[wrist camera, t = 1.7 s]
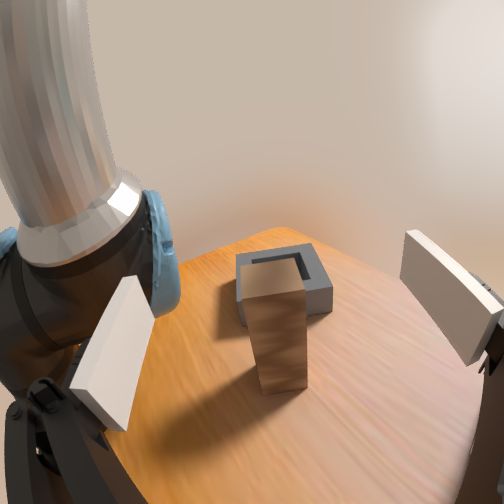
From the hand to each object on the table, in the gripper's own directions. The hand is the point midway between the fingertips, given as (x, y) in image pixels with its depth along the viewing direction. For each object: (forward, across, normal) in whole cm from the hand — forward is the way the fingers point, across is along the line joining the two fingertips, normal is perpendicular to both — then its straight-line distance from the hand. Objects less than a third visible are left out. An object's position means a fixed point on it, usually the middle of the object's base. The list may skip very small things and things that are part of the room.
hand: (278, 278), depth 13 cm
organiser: (+25, +2, -20) cm, 32 cm away
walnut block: (+9, 0, -20) cm, 22 cm away
